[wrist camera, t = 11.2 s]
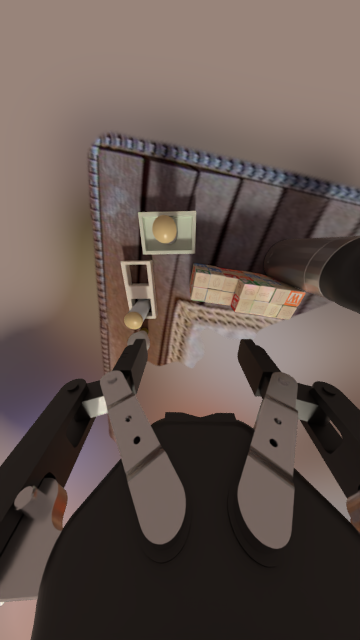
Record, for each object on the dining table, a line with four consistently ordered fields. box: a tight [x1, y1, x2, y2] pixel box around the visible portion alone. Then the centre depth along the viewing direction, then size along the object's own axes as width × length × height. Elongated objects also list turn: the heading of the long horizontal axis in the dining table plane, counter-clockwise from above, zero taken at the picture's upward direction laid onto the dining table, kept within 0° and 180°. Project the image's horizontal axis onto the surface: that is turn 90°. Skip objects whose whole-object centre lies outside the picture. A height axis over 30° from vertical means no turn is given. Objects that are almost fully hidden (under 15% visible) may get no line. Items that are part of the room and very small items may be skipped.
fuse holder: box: [121, 260, 157, 319], centre depth 40 cm, size 7×15×3 cm, turn 1°
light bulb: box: [128, 328, 150, 350], centre depth 43 cm, size 6×6×10 cm
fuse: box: [124, 299, 151, 329], centre depth 38 cm, size 4×4×11 cm
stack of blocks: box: [190, 263, 306, 320], centre depth 34 cm, size 21×6×12 cm, turn 81°
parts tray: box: [138, 211, 196, 254], centre depth 34 cm, size 12×8×3 cm, turn 91°
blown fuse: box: [152, 215, 178, 244], centre depth 29 cm, size 4×4×11 cm
